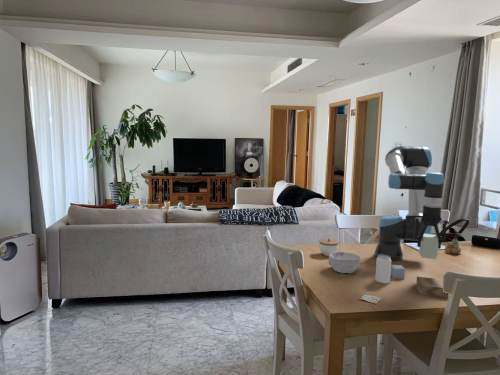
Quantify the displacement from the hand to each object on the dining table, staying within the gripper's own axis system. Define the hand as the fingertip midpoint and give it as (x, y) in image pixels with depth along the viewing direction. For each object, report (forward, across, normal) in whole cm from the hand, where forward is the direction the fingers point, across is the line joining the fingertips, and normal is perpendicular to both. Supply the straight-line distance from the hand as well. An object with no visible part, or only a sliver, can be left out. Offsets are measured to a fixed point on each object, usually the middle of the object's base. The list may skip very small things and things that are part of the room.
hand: (428, 254), depth 173 cm
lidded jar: (+13, -48, +24) cm, 55 cm away
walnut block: (+12, 0, -15) cm, 19 cm away
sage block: (+1, 0, 0) cm, 1 cm away
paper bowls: (+13, -38, -1) cm, 40 cm away
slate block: (+12, -13, -1) cm, 18 cm away
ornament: (+14, +22, +53) cm, 59 cm away
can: (+12, -20, -10) cm, 25 cm away
